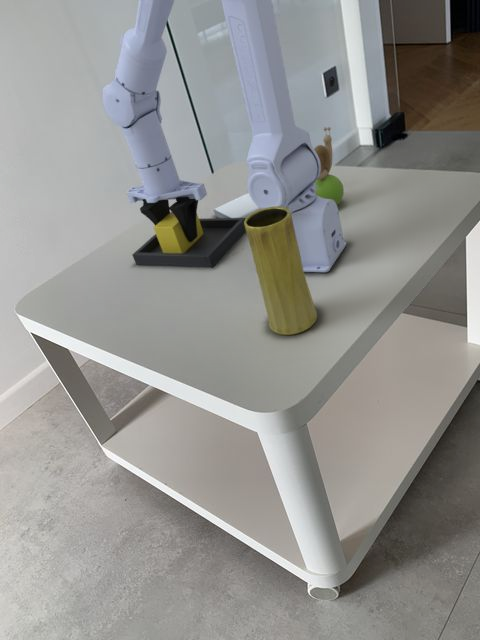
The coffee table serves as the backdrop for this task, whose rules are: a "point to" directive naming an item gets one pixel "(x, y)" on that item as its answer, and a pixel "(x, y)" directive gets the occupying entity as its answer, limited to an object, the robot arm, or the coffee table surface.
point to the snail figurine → (327, 173)
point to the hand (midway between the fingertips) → (182, 239)
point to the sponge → (174, 235)
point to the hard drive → (237, 208)
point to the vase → (280, 270)
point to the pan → (196, 245)
